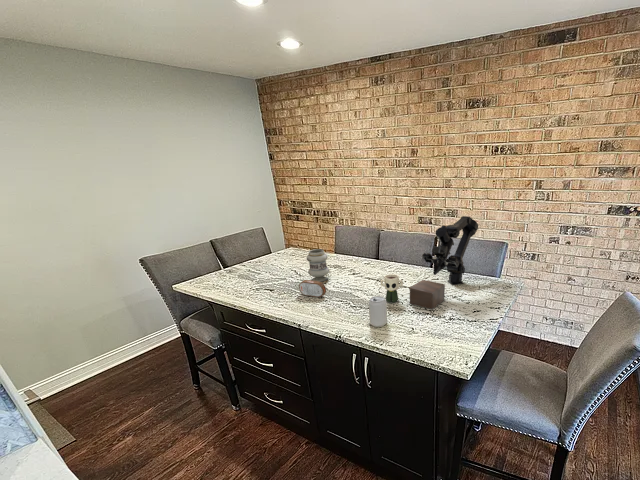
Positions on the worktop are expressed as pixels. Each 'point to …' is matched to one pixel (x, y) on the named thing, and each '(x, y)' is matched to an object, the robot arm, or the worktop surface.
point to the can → (378, 311)
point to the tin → (312, 288)
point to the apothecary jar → (318, 265)
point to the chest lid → (427, 287)
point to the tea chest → (427, 298)
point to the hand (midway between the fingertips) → (434, 274)
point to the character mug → (391, 286)
